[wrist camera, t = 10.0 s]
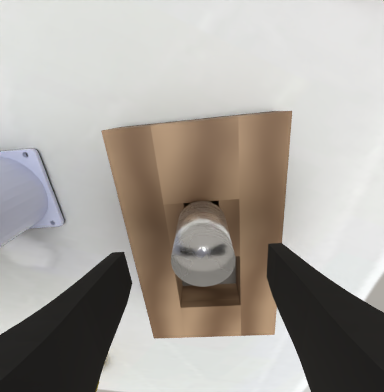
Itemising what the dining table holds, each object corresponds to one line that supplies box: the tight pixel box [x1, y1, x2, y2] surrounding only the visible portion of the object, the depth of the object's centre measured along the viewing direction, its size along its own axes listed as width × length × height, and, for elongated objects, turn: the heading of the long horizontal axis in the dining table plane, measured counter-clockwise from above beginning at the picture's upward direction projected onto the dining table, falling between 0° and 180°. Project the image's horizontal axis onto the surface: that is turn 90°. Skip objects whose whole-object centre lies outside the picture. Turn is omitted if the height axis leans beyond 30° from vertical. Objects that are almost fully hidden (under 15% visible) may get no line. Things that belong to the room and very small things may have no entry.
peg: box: [171, 201, 236, 287], centre depth 15 cm, size 5×5×8 cm
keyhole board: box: [102, 111, 292, 338], centre depth 20 cm, size 13×22×4 cm, turn 6°
